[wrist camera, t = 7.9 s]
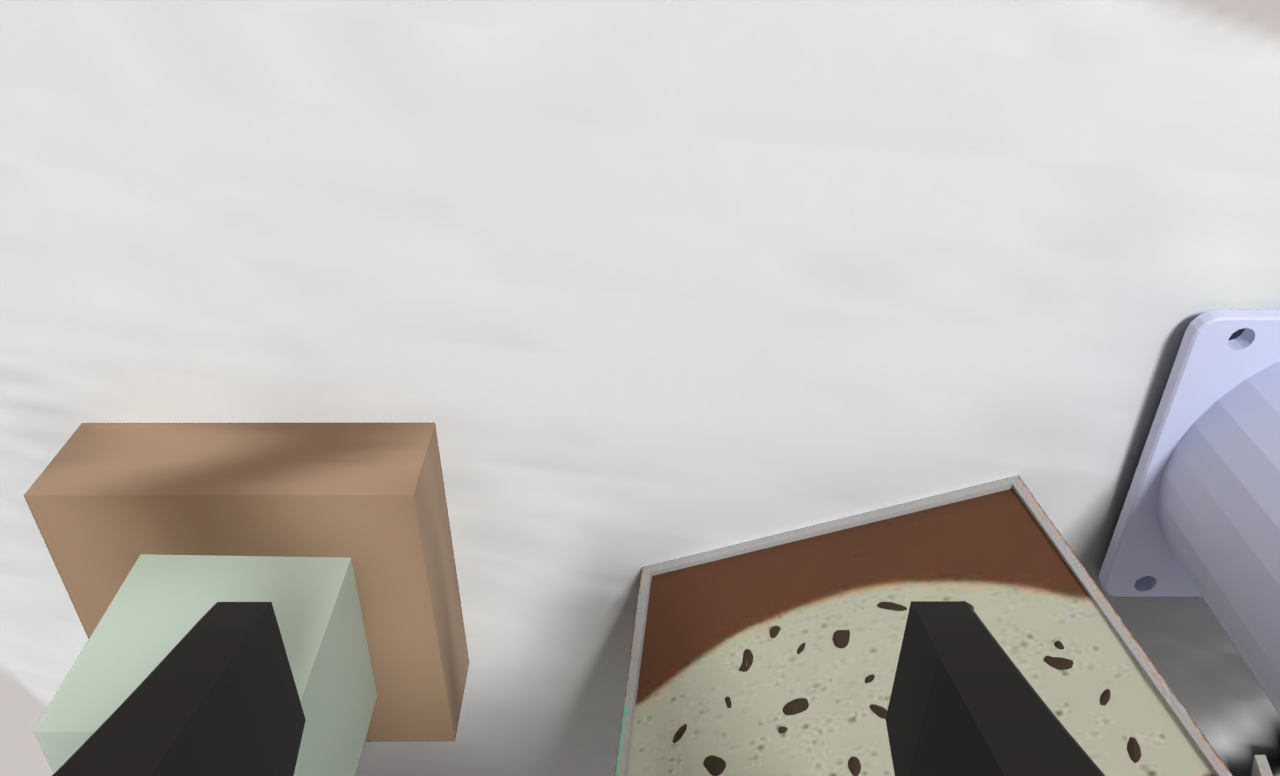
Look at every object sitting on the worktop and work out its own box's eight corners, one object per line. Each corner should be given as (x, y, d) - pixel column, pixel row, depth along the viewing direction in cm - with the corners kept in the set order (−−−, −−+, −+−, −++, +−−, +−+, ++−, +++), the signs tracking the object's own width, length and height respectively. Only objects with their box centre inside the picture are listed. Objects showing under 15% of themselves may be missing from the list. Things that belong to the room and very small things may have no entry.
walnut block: (438, 410, 23) (413, 495, 20) (471, 648, 27) (454, 741, 25) (91, 411, 23) (24, 495, 20) (181, 649, 27) (135, 741, 25)
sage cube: (351, 557, 21) (289, 734, 17) (377, 695, 24) (328, 876, 20) (140, 554, 21) (33, 730, 17) (189, 693, 24) (103, 873, 20)
